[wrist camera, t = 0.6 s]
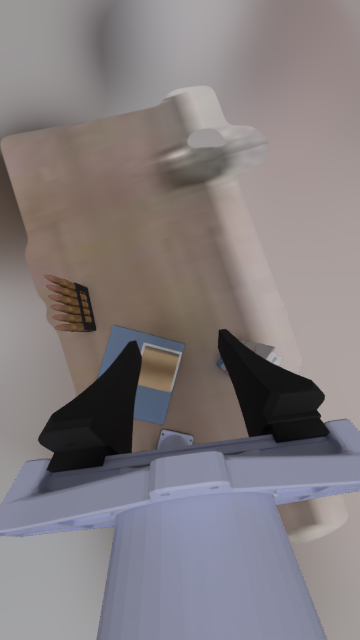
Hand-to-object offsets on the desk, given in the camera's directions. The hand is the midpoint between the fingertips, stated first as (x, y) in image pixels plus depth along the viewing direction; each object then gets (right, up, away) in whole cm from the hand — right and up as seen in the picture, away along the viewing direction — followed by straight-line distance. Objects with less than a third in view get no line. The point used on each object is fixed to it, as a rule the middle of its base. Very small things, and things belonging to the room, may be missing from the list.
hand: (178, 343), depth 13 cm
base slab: (-5, -9, +24) cm, 26 cm away
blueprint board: (-10, -11, +24) cm, 28 cm away
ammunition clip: (-22, +5, +24) cm, 33 cm away
